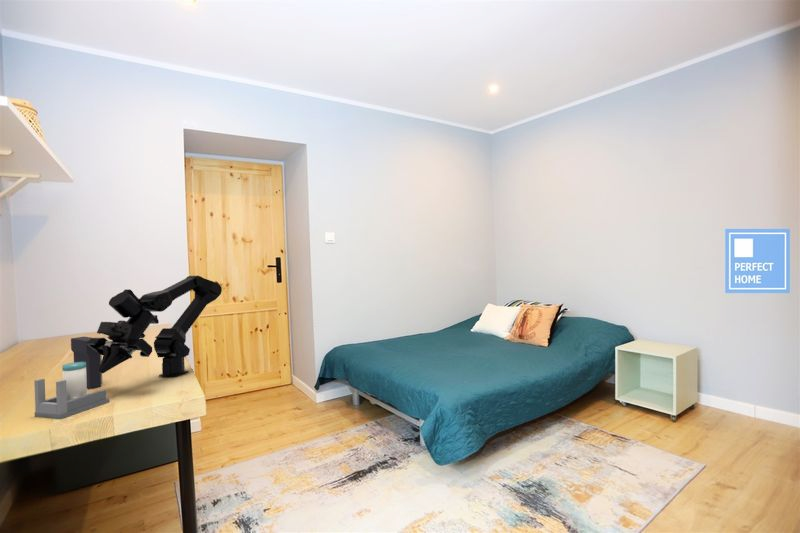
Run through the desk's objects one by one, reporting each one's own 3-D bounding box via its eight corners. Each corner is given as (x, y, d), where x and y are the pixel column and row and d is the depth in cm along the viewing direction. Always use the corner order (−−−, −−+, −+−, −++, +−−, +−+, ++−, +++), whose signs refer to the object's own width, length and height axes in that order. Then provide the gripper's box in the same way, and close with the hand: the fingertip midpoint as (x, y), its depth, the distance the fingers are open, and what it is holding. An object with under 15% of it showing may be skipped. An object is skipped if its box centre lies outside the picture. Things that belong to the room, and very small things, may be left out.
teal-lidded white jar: (77, 400, 106) (76, 361, 106) (92, 401, 105) (90, 362, 105) (58, 406, 101) (57, 366, 101) (73, 407, 100) (71, 366, 100)
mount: (84, 400, 110) (83, 367, 110) (109, 401, 107) (108, 369, 107) (34, 416, 98) (33, 380, 98) (61, 418, 96) (60, 381, 96)
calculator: (104, 386, 123) (102, 338, 123) (87, 390, 119) (86, 340, 119) (88, 381, 128) (86, 335, 128) (72, 385, 125) (70, 338, 125)
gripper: (92, 310, 117) (52, 355, 107) (142, 310, 113) (106, 357, 102) (118, 332, 125) (83, 376, 114) (166, 333, 120) (134, 379, 110)
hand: (100, 372), depth 110 cm, fingers closed
